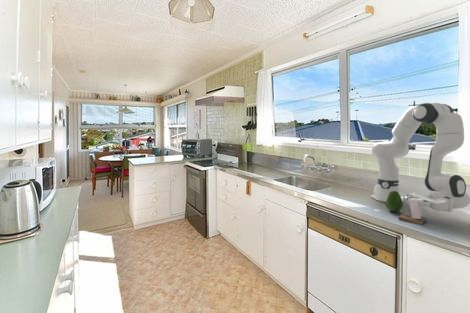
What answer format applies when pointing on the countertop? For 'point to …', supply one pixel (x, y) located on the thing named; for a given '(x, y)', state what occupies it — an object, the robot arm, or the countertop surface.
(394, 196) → the avocado
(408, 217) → the coaster board
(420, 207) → the smoothie
